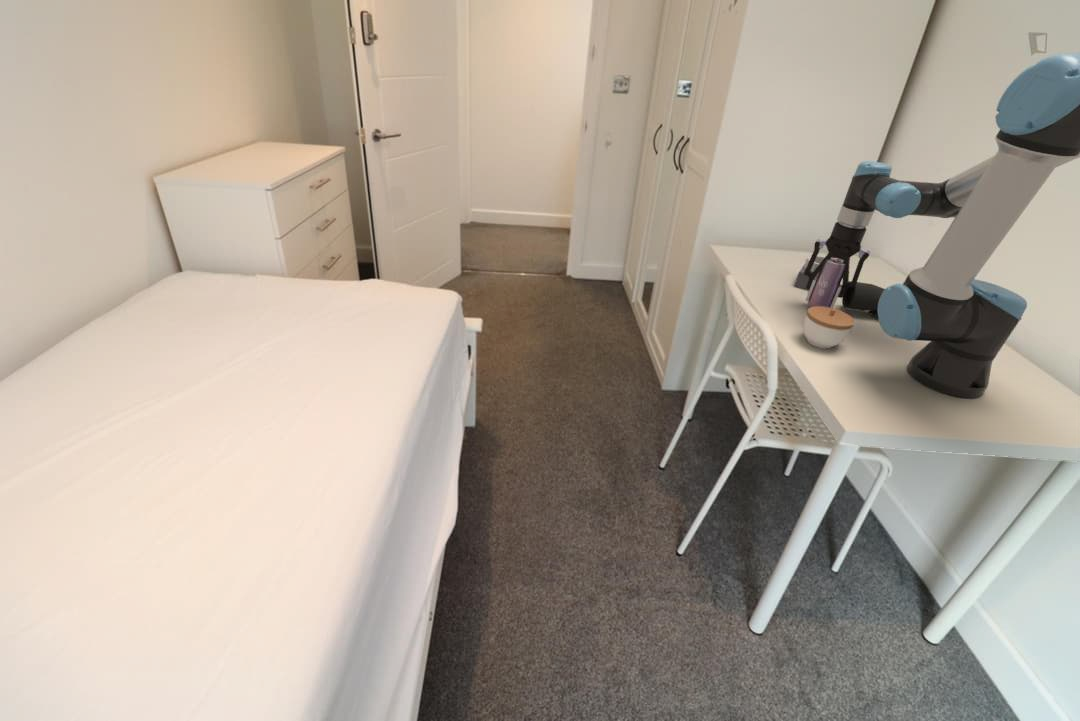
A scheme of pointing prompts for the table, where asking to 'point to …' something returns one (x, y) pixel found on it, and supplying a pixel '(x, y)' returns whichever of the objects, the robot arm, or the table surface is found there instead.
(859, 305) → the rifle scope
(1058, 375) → the table surface
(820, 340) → the lidded jar
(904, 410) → the table surface
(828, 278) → the beverage can
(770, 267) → the table surface
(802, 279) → the grey socket block
